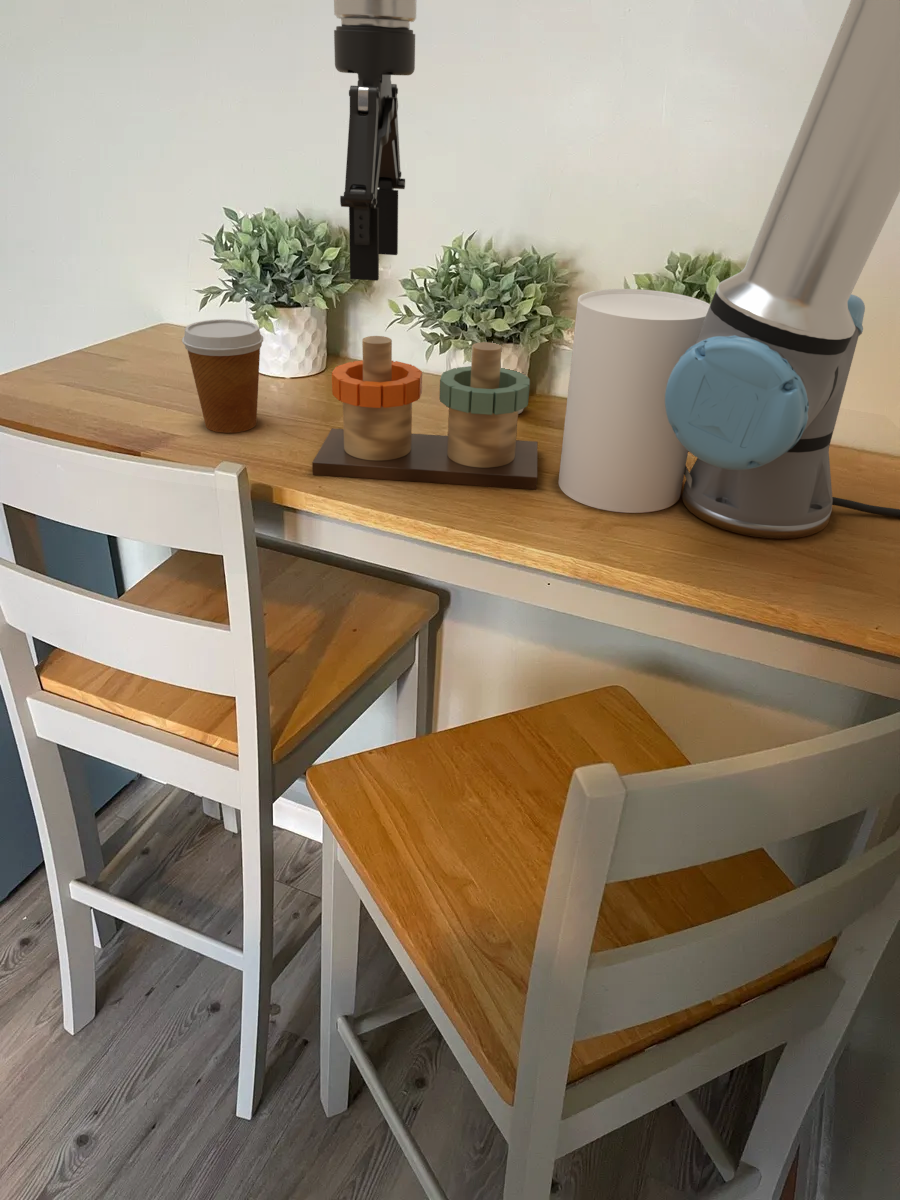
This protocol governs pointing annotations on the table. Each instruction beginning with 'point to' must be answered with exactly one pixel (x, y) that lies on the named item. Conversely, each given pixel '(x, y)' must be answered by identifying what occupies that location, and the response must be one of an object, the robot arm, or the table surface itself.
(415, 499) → the table surface
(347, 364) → the orange ring
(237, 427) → the disposable coffee cup
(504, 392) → the sage ring
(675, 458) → the canister
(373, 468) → the ring board
